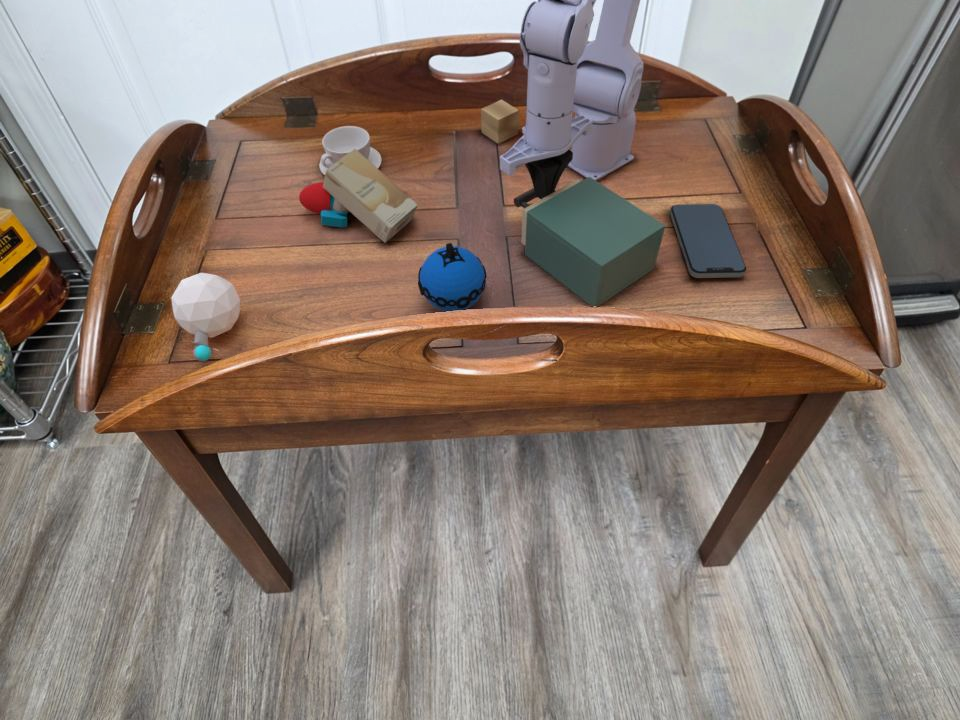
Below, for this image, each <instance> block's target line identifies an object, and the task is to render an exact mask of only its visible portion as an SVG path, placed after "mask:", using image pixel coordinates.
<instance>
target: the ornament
mask: <svg viewBox="0 0 960 720" xmlns="http://www.w3.org/2000/svg"><path fill="white" fill-rule="evenodd" d="M417 274H418V276H417V277H418V278H417V279H418V281H417V286H418V290H419V293H420V295H421V296H424V298H425V299H426V301H427V302H428V303H429V304H430V305H431V306H433V307H434V308H436V309H437V310H439V311H443V312H446V311H453V310H463V309H465V310H467V309H470V308H471V307H472V306H475V304H476V303H477V302H478V300H479V299H481V297H482V294H483V293H484V291H485V289H486V284H487V280H486V279H487V271H486V268H485V266H484V264H482V261H481V259H480V257H479V256H477V255H476V254H474V252H472V251H470V250H468V249H467V248H464V247H462V246H457V245H453V243H452V242H449V243H448V242H447V243H445V246H443V247H440V248H438V249H436V250H434V251H433V252H432V253H430V254H428V256H427V257H426V258H425V260H424V262H423V264H422V265H421V266H420V267H419V269H418V273H417ZM463 311H464V310H463Z"/></svg>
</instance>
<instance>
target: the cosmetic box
mask: <svg viewBox="0 0 960 720" xmlns="http://www.w3.org/2000/svg"><path fill="white" fill-rule="evenodd" d="M323 182H324V183H323V188H324V189H325V190H327V191H328V192H329V193H330V194H331V195H332V196H333V197H334V198H335V199H337V200H338V201H339V202H340V203H341V204H342V205H343V206H344V207H345V208H347V209H348V210H349V211H350V212H349V213H351V214H352V216H354V217H355V218H356V219H357V220H358V221H359V222H361V223H362V224H363V225H364V226H365V227H366V228H368V229H369V230H370V231H371V232H372V233H373V234H374V235H375V236H377V237H378V239H380V240H381V242H383V243H384V244H386V243H387V242H388V241H390V240H391V239H392V238H393V237H394V236H395V235H396V234H397V233H399V232H400V231H401V230H402V229H403V228H404V227H406V225H408V224H409V223H410V222H411V221H412V220H413V217H414V215H415V212H416V210H417V208H418V206H419V204H418V203H417V202H415V200H414V199H412V198H411V196H409V195H408V194H407V193H405V192H404V190H402V189H401V188H400V187H399V186H398V185H397V184H395V183H394V182H393V180H391V179H390V178H389V177H388V176H387V175H386V174H384V172H382V171H381V170H380V169H379V168H378V169H377V168H376V167H375V166H374V165H373V164H372V163H371V162H370V161H368V160H367V159H366V158H365V157H364V156H363V155H362V154H361V153H360V152H358V151H357V150H356V149H354V150H352V151H351V152H350V153H348V154H347V155H345V156H344V157H343V158H341V159H340V160H339V161H337V162H336V163H335V164H333V165H332V166H331V167H329V168H328V169H327V170H326V174H325V175H324V179H323Z"/></svg>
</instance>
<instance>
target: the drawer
mask: <svg viewBox="0 0 960 720" xmlns="http://www.w3.org/2000/svg"><path fill="white" fill-rule="evenodd" d="M581 181H582V180H581V179H579V178H576V179H575V180H573V181H571V182H569V183H568V184H566V185H564V186H563V187H561V188H559V189H555V191H554V192H553V193H551V194H550V195H548V196H546V197H544V198H543V199H539V200H537V201H535V202H534V203H532V204H529V203H530V202H531V201H533V200H535V199H536V198H538V197H537V196H535V191H534V187H532V188H530V189H528V190H526V191H525V192H523V193H521V194H520V195H518V196H516V197H514V198H513V204H514V206H515V207H516V208H520V207H521V208H523V209H522V213H521V216H522V217H521V238H520V240H521V241H520V242H521V244H522V245H524V246H525V243H526V221H527V211H529V210H531V209H533V208H534V207H536V206H538V205H540V204H542V203H543V202H545V201H547V200H549V199H550V198H552V197H554V196H556V195H558V194H559V193H561V192H563V191H565V190H567V189H568V188H570V187H572V186H574V185H575V184H577V183H579V182H581Z"/></svg>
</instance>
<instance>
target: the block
mask: <svg viewBox="0 0 960 720" xmlns="http://www.w3.org/2000/svg"><path fill="white" fill-rule="evenodd" d="M519 112H520V110H519V109H517V108H516V107H515V106H513V105H511V104H509V103H508V102H506V101H505V100H503V99H499V100H497V101H495V102H493V103H490V104H489V105H486V106H484V107H483V108H481V109H480V116H481V121H480V124H481V134H483V135H484V136H486V137H487V138H488V139H490V140H491V141H493V142H495V143H496V144H498V145H500V144H501V143H503V142H505V141H507V140H509V139H511V138H514V137H515V136H517V135H519V116H520V114H519Z"/></svg>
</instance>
